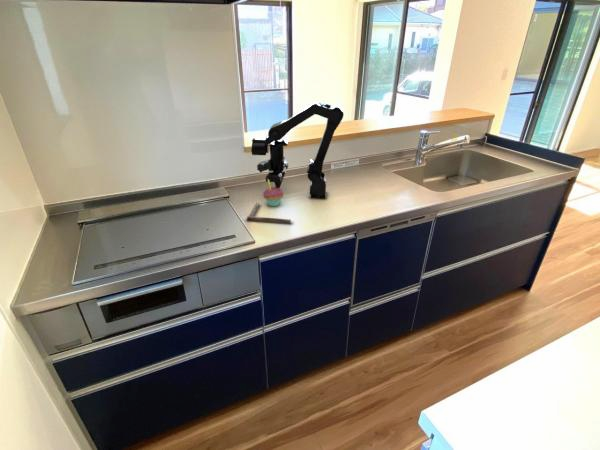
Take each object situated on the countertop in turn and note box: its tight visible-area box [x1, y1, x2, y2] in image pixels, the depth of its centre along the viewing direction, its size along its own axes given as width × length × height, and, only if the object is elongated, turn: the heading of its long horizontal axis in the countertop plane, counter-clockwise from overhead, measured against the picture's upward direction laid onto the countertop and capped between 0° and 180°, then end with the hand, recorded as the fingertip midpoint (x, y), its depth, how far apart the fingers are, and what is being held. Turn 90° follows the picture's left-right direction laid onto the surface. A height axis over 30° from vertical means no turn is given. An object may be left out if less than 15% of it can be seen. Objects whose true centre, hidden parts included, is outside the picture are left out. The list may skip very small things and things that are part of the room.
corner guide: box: [246, 202, 292, 225], centre depth 137 cm, size 17×13×2 cm
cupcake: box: [262, 180, 284, 207], centre depth 143 cm, size 9×8×12 cm
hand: (278, 189), depth 153 cm, fingers closed
